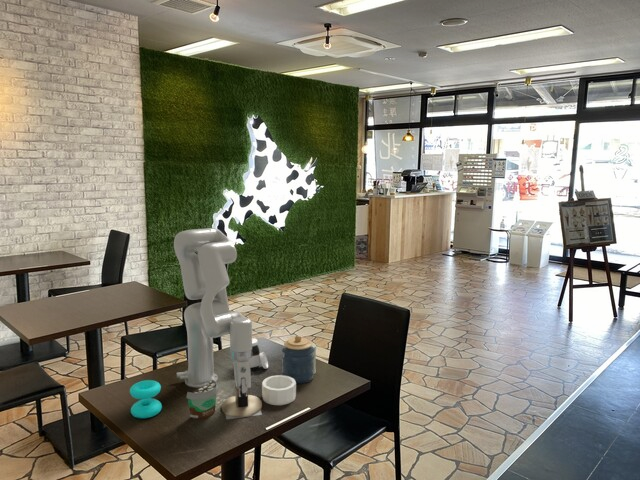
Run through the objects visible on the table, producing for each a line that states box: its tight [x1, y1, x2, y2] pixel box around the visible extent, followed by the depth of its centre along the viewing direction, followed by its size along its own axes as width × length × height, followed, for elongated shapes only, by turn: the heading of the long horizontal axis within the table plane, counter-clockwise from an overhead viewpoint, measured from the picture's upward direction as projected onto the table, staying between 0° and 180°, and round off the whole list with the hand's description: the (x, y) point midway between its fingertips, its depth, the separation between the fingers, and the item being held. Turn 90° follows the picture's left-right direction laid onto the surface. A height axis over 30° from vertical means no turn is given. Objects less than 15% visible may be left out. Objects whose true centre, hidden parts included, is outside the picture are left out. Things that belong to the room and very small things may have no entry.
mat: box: [222, 395, 263, 420], centre depth 168 cm, size 12×14×1 cm
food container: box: [185, 380, 219, 420], centre depth 163 cm, size 12×6×10 cm, turn 148°
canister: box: [281, 334, 315, 384], centre depth 192 cm, size 13×13×18 cm
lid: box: [221, 386, 263, 418], centre depth 168 cm, size 14×14×7 cm
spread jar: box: [250, 337, 269, 371], centre depth 201 cm, size 12×11×12 cm
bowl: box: [261, 374, 297, 406], centre depth 176 cm, size 12×12×6 cm
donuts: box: [129, 379, 163, 419], centre depth 164 cm, size 10×10×10 cm
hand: (241, 401), depth 168 cm, fingers open, 5 cm apart
